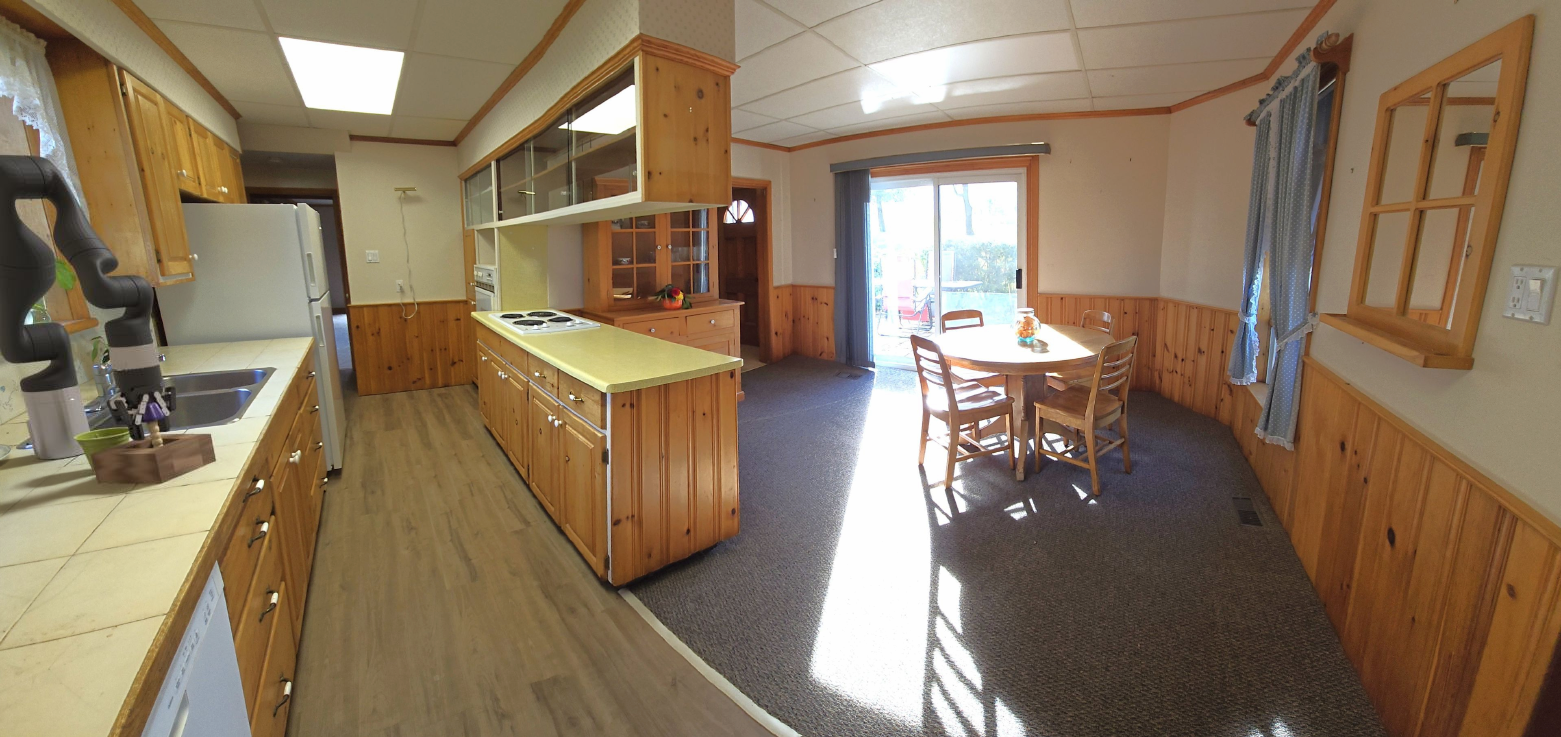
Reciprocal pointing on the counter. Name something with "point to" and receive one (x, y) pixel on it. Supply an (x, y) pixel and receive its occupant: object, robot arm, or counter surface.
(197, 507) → the counter surface
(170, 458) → the socket block
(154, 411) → the toy lamp
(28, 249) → the robot arm
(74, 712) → the counter surface
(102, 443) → the plant pot
